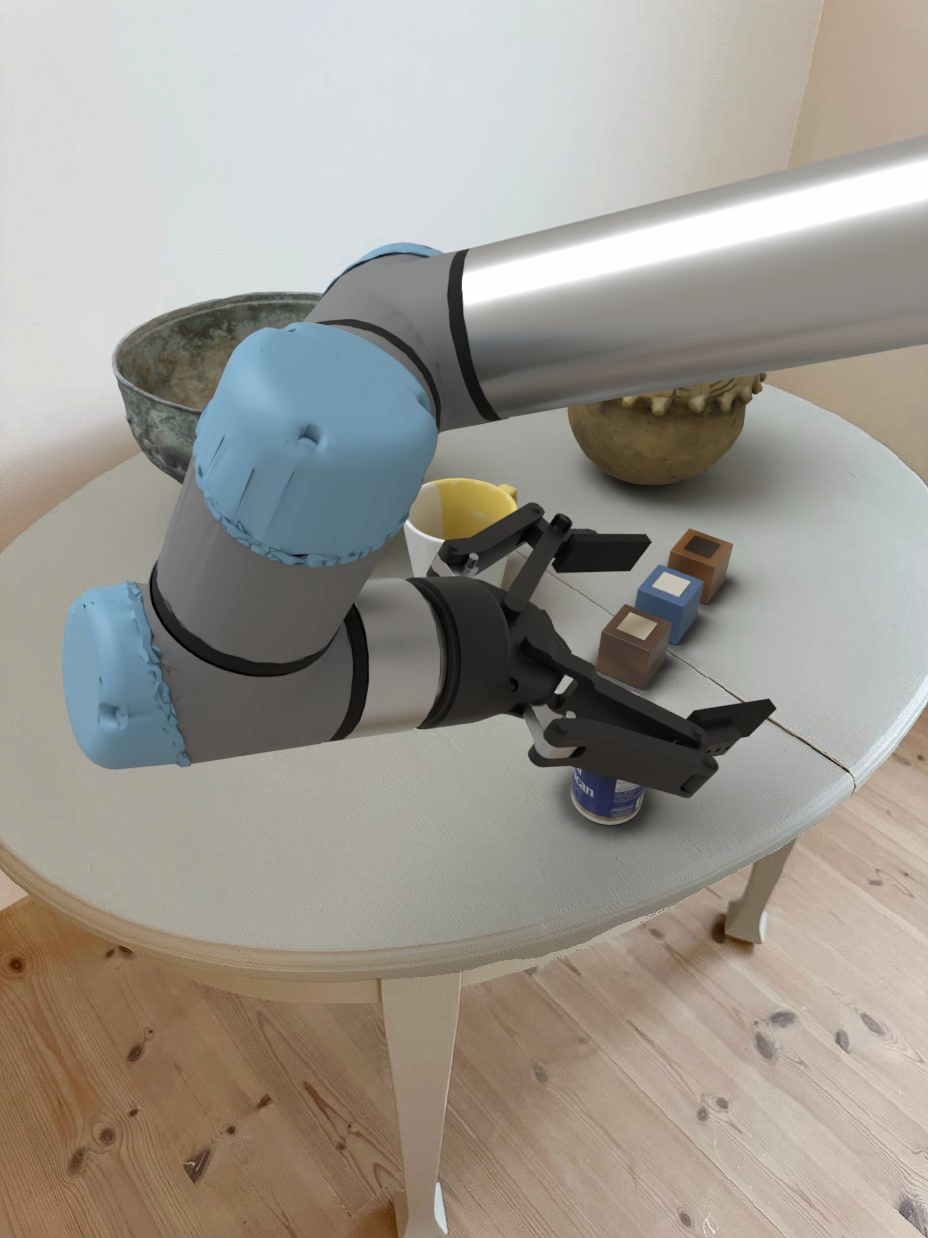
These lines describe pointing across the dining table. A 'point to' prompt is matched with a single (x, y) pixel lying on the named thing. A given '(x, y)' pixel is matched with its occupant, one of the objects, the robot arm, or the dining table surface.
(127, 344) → the decorative bowl
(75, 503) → the dining table surface
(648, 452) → the clay pot
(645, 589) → the blue painted block
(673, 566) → the oak end block
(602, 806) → the pill bottle
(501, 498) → the mug
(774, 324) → the robot arm
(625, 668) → the walnut block
